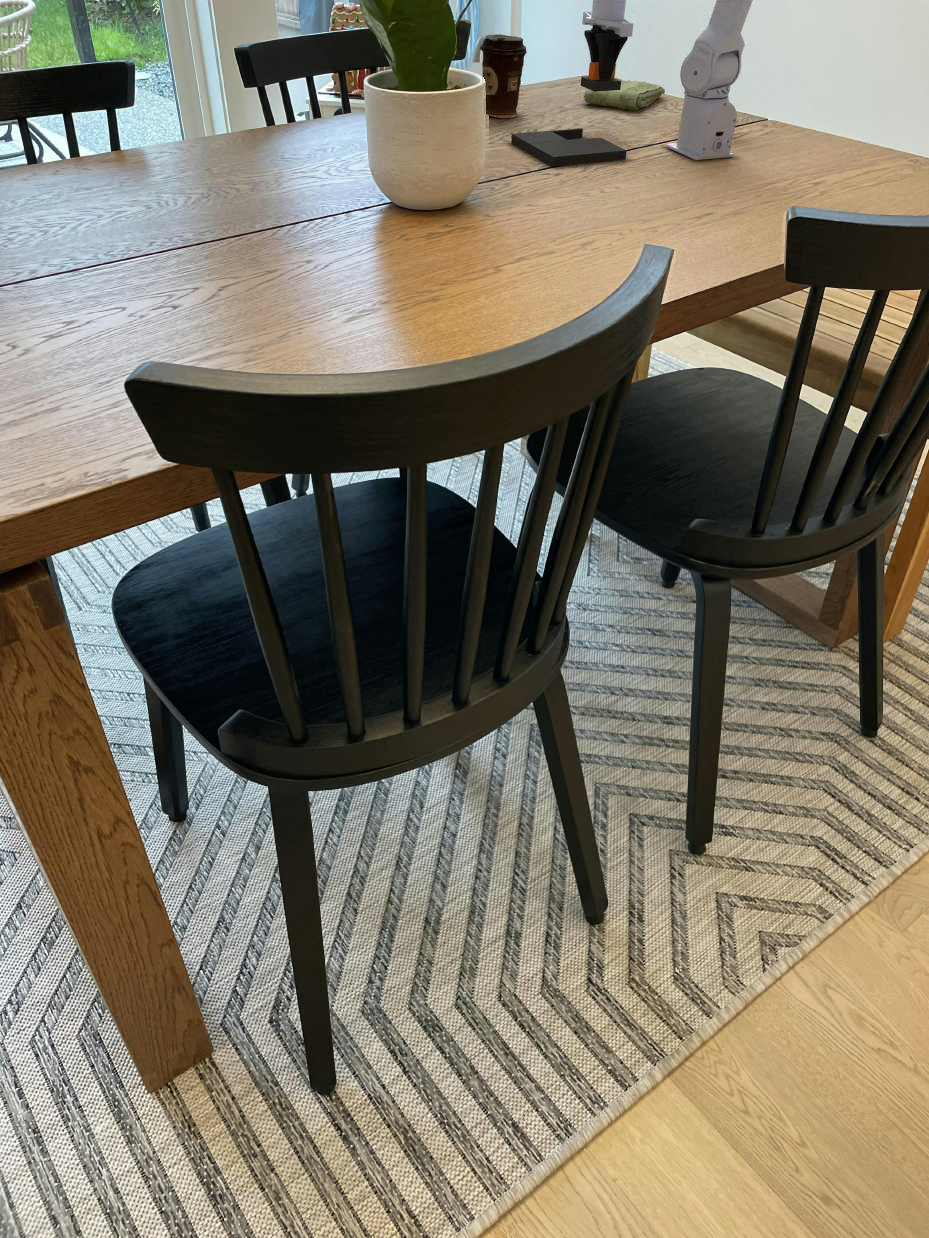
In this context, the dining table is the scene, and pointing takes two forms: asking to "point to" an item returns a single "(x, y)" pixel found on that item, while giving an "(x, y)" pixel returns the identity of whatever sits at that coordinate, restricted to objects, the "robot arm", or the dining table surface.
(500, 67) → the coffee cup
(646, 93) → the washcloth
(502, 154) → the dining table surface
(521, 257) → the dining table surface
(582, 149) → the base pad
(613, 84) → the connector pad
